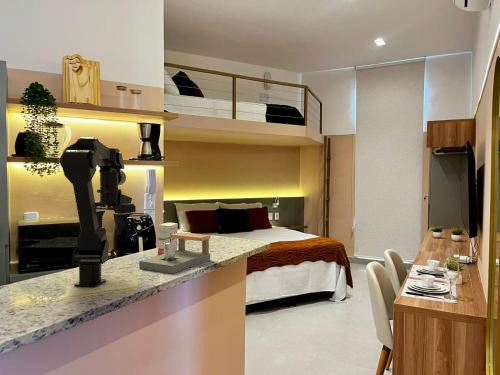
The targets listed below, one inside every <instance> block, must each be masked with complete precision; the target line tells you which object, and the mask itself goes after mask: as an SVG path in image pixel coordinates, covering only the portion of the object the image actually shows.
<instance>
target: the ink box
mask: <svg viewBox="0 0 500 375" xmlns="http://www.w3.org/2000/svg"><path fill="white" fill-rule="evenodd" d="M178 226H179V224H178V223H177V222H176V223H175V222H165V223H160V224H158V236H157V256H159V255H162V254H164V243H168V242H172V243H175V251H177V250H178V239H177V238H170V235H171V234H175V233H178V228H179V227H178Z"/></svg>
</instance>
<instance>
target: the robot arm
mask: <svg viewBox="0 0 500 375" xmlns="http://www.w3.org/2000/svg"><path fill="white" fill-rule="evenodd" d="M59 157H60V158H59V163H60V167H61V169H62V172H63V175H64V177H65V179H67V180H68V182H70V183H71V185H72V188H73V193H74V194H73V195H74V200H75V205H76V211H77V216H78V222H79V227H80V233H79V234H78V236H77V239H76V243H75V246H74V249H73V252H72V255H71V264H72V265H78V281H77V282H75V283H74V284H73V285H74V287H88V288H89V287H90V288H95V287H98V286H99V285H101V284H103V283H105V282H106V281H107V279H106V278H102V265H103V264H105V263H106V262H108V260H109V252H110V251H109V250H110V243H109V240H108V236H107V230H106V228H105V227H103V216H104V214H105V212H106V211H113V212H114V213H113V214H112V215H113V220H114V224H115V230H116V232H117V235H122V232H123V230H124V228H125V223H126V221H127V219H128V218H129V217H130V216H132V215H133V213H136V211H137V210H136V208H137V207H136V205H135V203H132V200H133V197H130V196H128V195H126V194H123V192H122V189H121V188H119V186H121V185H124V184H125V182H126V180H127V175H126V173H125V172H124V171H123V170H125V163H124V159H123V153H122V152H121V151H120V149H119V148H114V147H113V148H112V147H108V146H107V145H105V144H103V143H102V142H100V140H99V138H96V137H94V136H93V137H89V136H88V137H87V136H86V137H83V136H81V137H79V138H78V139H77V140H76V141H75V142H74V143H72V144H70V145H69V146H67V147H66V148H65V149H64V150H63V152H62V153H61V155H60V156H59ZM97 167H98V168H99V170H98V173H99V189H97V190H96V193H99V201H96V200H95V194H94V187H93V178H94V176H95V174H96V172H97Z"/></svg>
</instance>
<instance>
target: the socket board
mask: <svg viewBox="0 0 500 375" xmlns="http://www.w3.org/2000/svg"><path fill="white" fill-rule="evenodd" d="M170 238H177V251H175V260H173V261H164V254H162V255H156V256H152V257H149V258H146V259H145V258H144V259H141V260H138V261H139V263H138V265H139V266H138V267H139V269H143V270H147V271H148V270H149V271H153V272H154V271H155V272H160V273H166V274H175V273H177V272H180V271H184V270H186V269H188V268H192V267H195V266H197V265H200V264H203V263H206V262H208V260H209V261H211V253H210V239H211V235H209V234H200V233H198V234H197V233H191V232H190V233H189V232H177V233H175V234H171V235H170ZM188 240H189V241H195V242H197V241H198V242H201V251H195V250H187V249H186V241H188ZM205 261H206V262H205Z"/></svg>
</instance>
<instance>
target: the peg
mask: <svg viewBox="0 0 500 375" xmlns="http://www.w3.org/2000/svg"><path fill="white" fill-rule="evenodd" d="M173 260H175V243H172V242H168V243H164V261H173Z"/></svg>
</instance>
